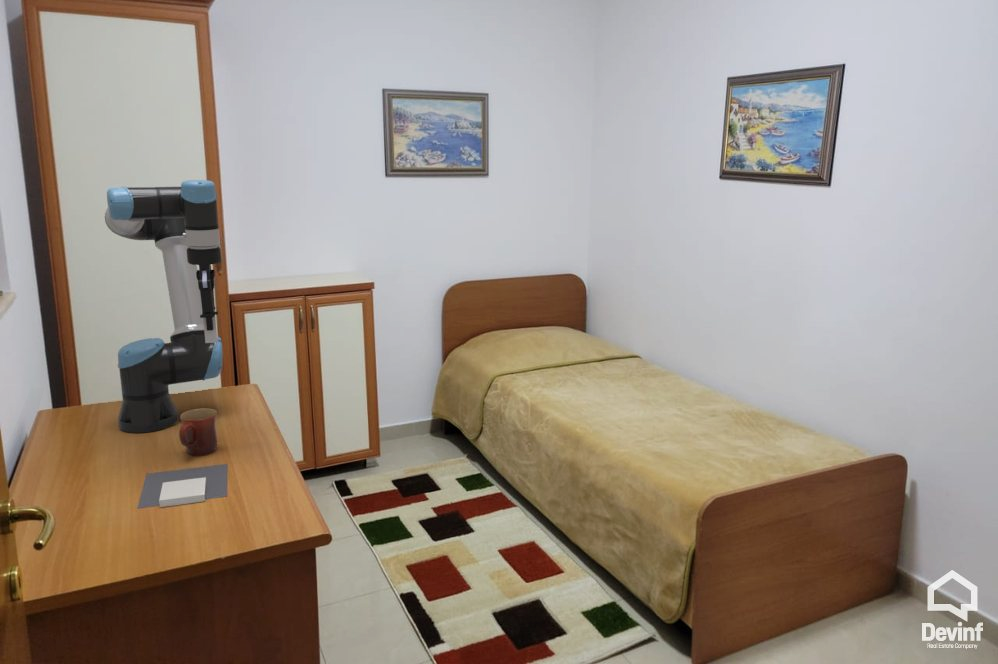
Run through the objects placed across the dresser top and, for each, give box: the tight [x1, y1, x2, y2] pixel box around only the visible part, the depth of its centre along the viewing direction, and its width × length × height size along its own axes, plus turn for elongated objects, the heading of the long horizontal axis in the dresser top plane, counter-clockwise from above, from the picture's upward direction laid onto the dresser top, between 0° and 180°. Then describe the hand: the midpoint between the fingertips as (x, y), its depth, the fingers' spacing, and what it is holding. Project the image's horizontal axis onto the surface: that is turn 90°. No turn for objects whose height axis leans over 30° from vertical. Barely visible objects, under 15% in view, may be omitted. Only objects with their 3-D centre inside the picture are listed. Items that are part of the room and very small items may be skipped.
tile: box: [159, 477, 206, 508], centre depth 161 cm, size 2×9×9 cm
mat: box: [137, 463, 229, 509], centre depth 166 cm, size 18×18×1 cm
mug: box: [178, 407, 218, 457], centre depth 182 cm, size 12×9×10 cm
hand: (211, 341), depth 179 cm, fingers closed
